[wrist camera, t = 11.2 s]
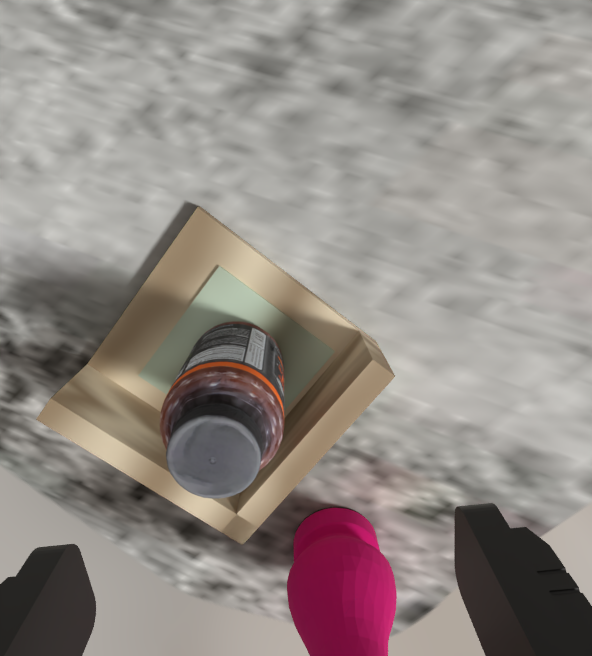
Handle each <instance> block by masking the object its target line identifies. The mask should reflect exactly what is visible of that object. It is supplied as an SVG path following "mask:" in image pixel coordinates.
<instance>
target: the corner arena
mask: <svg viewBox="0 0 592 656" xmlns="http://www.w3.org/2000/svg"><path fill="white" fill-rule="evenodd" d="M233 321H239V322H246V323H250V324H253V325H256V326H258V327H260V328H261V329H263V330H265V331H266V332H267V333H269V334H270V335H271V336H272V337H273V338H274V340H275V341H276V343H277V345H278V346H279V348H280V351H281V353H282V357H283V362H284V367H285V369H284V374H285V378H284V383H285V384H284V401H285V406H284V409H285V410H284V416H285V417H284V431H283V439H282V441H281V443H280V447H279V448H278V450H277V452H276V454H275V455H274V457H273V458H272V459H271V460H270V461H269V463H268V464H267V465H266V466H265V467H263V468H262V469H261V470H259V472H258V474H257V476H256V478H255V479H254V481H253V482H252V483H251V484H250V485H249V486H248V487H247V488H246V489H245V490H243V491H242V492H240V493H238V494H236V495H233V496H230V497H226V498H219V499H217V498H216V499H213V498H203V497H200V496H197V495H194V494H192V493H190V492H188V491H187V490H185V489H184V488H183V487H181V486H180V485H179V484H178V483H177V482H176V481H175V479H174V478H173V476H172V475H171V474H170V472H169V469H168V465H167V460H166V451H167V450H166V448H165V446H164V444H163V441H162V438H161V434H160V414H161V409H162V406H163V403H164V400H165V398H166V396H167V394H168V392H169V390H170V388H171V386H172V385H173V383H174V381H175V379H176V377H177V376H178V374H179V372H180V370H181V368H182V367H183V365H184V363H185V361H186V359H187V358H188V356H189V354H190V352H191V351H192V349H193V347H194V345H195V344H196V342H197V341H198V340H199V339H200V338H201V336H202V335H203V334H204V333H205V332H206V331H208V330H209V329H211V328H213V327H214V326H217V325H219V324H222V323H226V322H233ZM394 377H395V375H394V373H393V371H392V370H391V368H390V366H389V364H388V362H387V360H386V359H385V357H384V355H383V353H382V351H381V350H380V348H379V346H378V344H377V342H376V341H375V340H374V339H372V338H371V337H370V336H368V335H367V334H366V333H364V332H363V331H362V330H360V329H359V328H358V327H357V326H355V325H354V324H353V323H351V322H350V321H349V320H347V319H346V318H345V317H344V316H342V315H341V314H340V313H338V312H337V311H336V310H334V309H333V308H332V307H330V306H329V305H328V304H327V303H325V302H324V301H323V300H321V299H320V298H319V297H317V296H316V295H315V294H313V293H312V292H311V291H310V290H308V289H307V288H306V287H304V286H303V285H302V284H300V283H299V282H298V281H297V280H295V279H294V278H293V277H291V276H290V275H289V274H287V273H286V272H285V271H283V270H282V269H281V268H280V267H278V266H277V265H276V264H274V263H273V262H272V261H270V260H269V259H268V258H267V257H265V256H264V255H263V254H261V253H260V252H259V251H257V250H256V249H255V248H253V247H252V246H251V245H250V244H248V243H247V242H246V241H244V240H243V239H242V238H240V237H239V236H238V235H237V234H235V233H234V232H233V231H231V230H230V229H229V228H227V227H226V226H225V225H223V224H222V223H221V222H220V221H218V220H217V219H216V218H214V217H213V216H212V215H210V214H209V213H208V212H207V211H205V210H204V209H203V208H201V207H197V209H196V210H195V212H194V213H193V214H192V216H191V217H190V219H189V220H188V221H187V223H186V224H185V226H184V227H183V229H182V230H181V231H180V233H179V234H178V236H177V237H176V239H175V240H174V241H173V243H172V244H171V246H170V247H169V248H168V250H167V251H166V253H165V254H164V256H163V257H162V258H161V260H160V261H159V263H158V264H157V266H156V267H155V268H154V270H153V271H152V273H151V274H150V275H149V277H148V278H147V280H146V281H145V283H144V284H143V285H142V287H141V288H140V290H139V291H138V293H137V294H136V295H135V297H134V298H133V300H132V301H131V303H130V304H129V305H128V307H127V308H126V310H125V311H124V312H123V314H122V315H121V317H120V318H119V320H118V321H117V322H116V324H115V325H114V327H113V328H112V330H111V331H110V332H109V334H108V335H107V337H106V338H105V339H104V341H103V342H102V344H101V345H100V347H99V348H98V349H97V351H96V352H95V354H94V355H93V357H92V358H91V359H90V361H89V362H88V364H87V365H86V366H85V367H84V368H83V369H81V370H80V371H79V372H78V373H77V374H76V375H75V376H74V377H73V378H72V379H71V380H70V381H69V382H68V383H67V384H66V385H64V386H63V387H62V388H61V389H60V390H59V391H58V392H57V393H56V394H55V395H54V396H53V397H52V398H51V399H50V400H49V402H48V403H47V404H46V406H45V407H44V409H43V410H42V412H41V413H40V415H39V416H38V417H37V419H36V420H38V421H40V422H41V423H43V424H44V425H46V426H48V427H49V428H51V429H53V430H54V431H56V432H58V433H59V434H61V435H63V436H64V437H66V438H67V439H69V440H71V441H72V442H74V443H76V444H77V445H79V446H81V447H82V448H84V449H85V450H87V451H89V452H90V453H92V454H94V455H95V456H97V457H99V458H100V459H102V460H104V461H105V462H107V463H108V464H110V465H112V466H113V467H115V468H117V469H118V470H120V471H122V472H123V473H125V474H127V475H128V476H130V477H131V478H133V479H135V480H136V481H138V482H140V483H141V484H143V485H145V486H146V487H148V488H149V489H151V490H153V491H154V492H156V493H158V494H159V495H161V496H163V497H164V498H166V499H168V500H169V501H171V502H172V503H174V504H176V505H177V506H179V507H181V508H182V509H184V510H186V511H187V512H189V513H191V514H192V515H194V516H195V517H197V518H199V519H200V520H202V521H204V522H205V523H207V524H209V525H210V526H212V527H213V528H215V529H217V530H218V531H220V532H222V533H223V534H225V535H227V536H228V537H230V538H232V539H233V540H235V541H236V542H238V543H240V544H241V545H243V544H244V543H245V542H246V541H247V540H248V539H249V537H250V536H251V535H252V534H253V533H254V532H255V531H256V530H257V529H258V527H259V526H260V525H261V524H262V523H263V522H264V521H265V520H266V519H267V518H268V516H269V515H270V514H271V513H272V512H273V511H274V510H275V509H276V508H277V506H278V505H279V504H280V503H281V502H282V501H283V500H284V499H285V498H286V497H287V495H288V494H289V493H290V492H291V491H292V490H293V489H294V488H295V487H296V485H297V484H298V483H299V482H300V481H301V480H302V479H303V478H304V477H305V475H306V474H307V473H308V472H309V471H310V470H311V469H312V468H313V467H314V466H315V464H316V463H317V462H318V461H319V460H320V459H321V458H322V457H323V456H324V454H325V453H326V452H327V451H328V450H329V449H330V448H331V447H332V446H333V445H334V443H335V442H336V441H337V440H338V439H339V438H340V437H341V436H342V435H343V433H344V432H345V431H346V430H347V429H348V428H349V427H350V426H351V425H352V424H353V422H354V421H355V420H356V419H357V418H358V417H359V416H360V415H361V414H362V412H363V411H364V410H365V409H366V408H367V407H368V406H369V405H370V404H371V403H372V401H373V400H374V399H375V398H376V397H377V396H378V395H379V394H380V393H381V391H382V390H383V389H384V388H385V387H386V386H387V385H388V384H389V383H390V382H391V380H392V379H393V378H394Z"/></svg>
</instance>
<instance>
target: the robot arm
mask: <svg viewBox="0 0 592 656" xmlns="http://www.w3.org/2000/svg"><path fill="white" fill-rule="evenodd" d="M455 572H456V578H457V582H458V587H459V590H460V593H461V596H462V599H463V601H464V604H465V606H466V608H467V611H468V614H469V616H470V618H471V621H472V623H473V626H474V628H475V631H476V633H477V636H478V638H479V641H480V643H481V646H482V648H483V650H484V653H485V655H486V656H592V606H591V605H590V603H589V602H588V600H587V599H586V597H585V596H584V595H583V593H580V591H579V587H578V586H577V584H576V583H575V581H574V580H573V579H572V577H571V576H570V574H569V573H566V569H565V567H564V566H563V564H562V563H561V561H560V560H559V558H558V557H557V556H556V554H555V553H554V551H553V550H552V548H551V547H550V545H548V544H547V543H546V542H545V541H543V540H542V539H541V538H539V537H538V536H537V535H535V534H534V533H533V532H532V531H530V530H529V529H528V528H526V527H521V528H511V529H510V527H509V526H508V524H507V522H506V521H505V519H504V517H503V516H502V514H501V513H500V511H499V509H498V508H497V506H496V505H495V504H493V503H488V504H478V505H468V506H458V507H456V509H455ZM95 616H96V601H95V596H94V593H93V590H92V587H91V584H90V580H89V577H88V574H87V571H86V568H85V565H84V561H83V558H82V555H81V552H80V549H79V548H78V546H77V545H75V544H67V545H58V546H48V547H39V548H36V549H35V550H34V551H33V552H32V553H31V554H30V556H29V557H28V559H27V560H26V562H25V563H24V565H23V566H22V568H21V570H20V571H19V573H18V574H17V575H16V577H8V578H7V579H6V580H5V581H4V582H2V583H1V584H0V656H82V654H83V652H84V650H85V647H86V645H87V642H88V640H89V638H90V635H91V633H92V630H93V627H94V622H95Z"/></svg>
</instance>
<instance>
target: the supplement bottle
mask: <svg viewBox="0 0 592 656" xmlns="http://www.w3.org/2000/svg"><path fill="white" fill-rule="evenodd" d="M284 369H285V367H284V362H283V357H282V353H281V351H280V348H279V346H278V345H277V343H276V341H275V340H274V338H273V337H272V336H271V335H270V334H269V333H267V332H266V331H265V330H263V329H261V328H260V327H258V326H256V325H253V324H250V323H246V322H239V321H233V322H226V323H222V324H219V325H217V326H214V327H213V328H211V329H209V330H208V331H206V332H205V333H204V334H203V335H202V336H201V338H200V339H199V340H198V341H197V342H196V344H195V345H194V347H193V349H192V351H191V352H190V354H189V356H188V358H187V359H186V361H185V363H184V365H183V367H182V368H181V370H180V372H179V374H178V376H177V377H176V379H175V381H174V383H173V385H172V386H171V388H170V390H169V392H168V394H167V396H166V398H165V400H164V403H163V406H162V409H161V414H160V434H161V438H162V441H163V444H164V446H165V448H166V450H167V451H166V460H167V465H168V469H169V472H170V474H171V475H172V476H173V478H174V479H175V481H176V482H177V483H178V484H179V485H180V486H181V487H183V488H184V489H185V490H187V491H188V492H190V493H192V494H194V495H197V496H200V497H203V498H213V499H216V498H217V499H219V498H226V497H230V496H233V495H236V494H238V493H240V492H242V491H243V490H245V489H246V488H247V487H248V486H249V485H250V484H251V483H252V482H253V481H254V479H255V478H256V476H257V474H258V472H259V470H261V469H262V468H263V467H265V466H266V465H267V464H268V463H269V461H270V460H271V459H272V458H273V457H274V455H275V454H276V452H277V450H278V448H279V447H280V443H281V441H282V439H283V431H284V417H285V416H284V410H285V409H284V406H285V401H284V384H285V383H284V378H285V374H284Z"/></svg>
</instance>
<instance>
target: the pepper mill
mask: <svg viewBox="0 0 592 656" xmlns="http://www.w3.org/2000/svg"><path fill="white" fill-rule="evenodd" d="M293 546H294V564H293V566H292V568H291V569H290V572H289V576H288V581H287V592H288V602H289V609H290V612H291V615H292V618H293V621H294V624H295V627H296V629H297V631H298V633H299V635H300V636H301V638H302V640H303V642H304V644H305V646H306V648H307V650H308V653H309V654H310V656H388V640H389V635H390V632H391V628H392V625H393V620H394V616H395V611H396V586H395V580H394V575H393V572H392V569H391V567H390V564H389V562H388V561H387V560H386V558H385V557H384V555H383V554H382V553H381V552H380V550H379V546H378V542H377V538H376V534H375V531H374V528H373V527H372V525H371V524H370V522H369V521H368V520H367V519H366V518H365V517H364V516H362V515H361V514H359V513H357V512H355V511H352V510H349V509H344V508H329V509H323V510H320V511H318V512H315V513H313V514H312V515H310V516H309V517H307V518H306V519H305V520H304V521H303V522H302V523H301V525H300V526H299V527H298V529H297V531H296V533H295V537H294V544H293Z"/></svg>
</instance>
